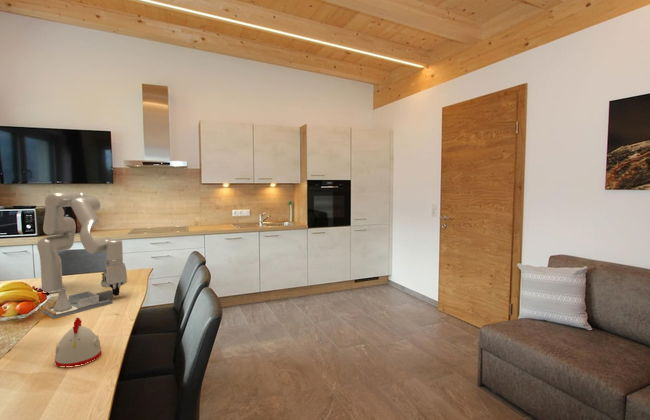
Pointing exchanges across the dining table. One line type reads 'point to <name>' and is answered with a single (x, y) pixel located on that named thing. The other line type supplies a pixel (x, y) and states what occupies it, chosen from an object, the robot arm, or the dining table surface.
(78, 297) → the housing
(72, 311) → the base board
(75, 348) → the kitchen timer
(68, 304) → the flask
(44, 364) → the dining table surface
